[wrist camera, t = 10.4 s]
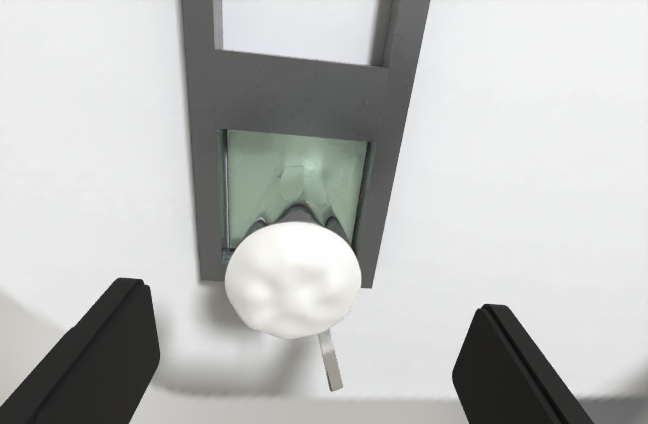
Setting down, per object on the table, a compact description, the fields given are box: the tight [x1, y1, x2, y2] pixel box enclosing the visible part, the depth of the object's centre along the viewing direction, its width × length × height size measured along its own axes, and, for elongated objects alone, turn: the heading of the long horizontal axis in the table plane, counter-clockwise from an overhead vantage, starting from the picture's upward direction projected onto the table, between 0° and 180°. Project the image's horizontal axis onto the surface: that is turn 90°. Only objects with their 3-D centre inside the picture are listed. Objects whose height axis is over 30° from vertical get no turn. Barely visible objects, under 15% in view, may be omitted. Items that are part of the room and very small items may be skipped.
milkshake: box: [225, 166, 361, 392], centre depth 14 cm, size 5×5×10 cm
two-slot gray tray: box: [182, 0, 430, 288], centre depth 16 cm, size 10×21×2 cm, turn 174°
